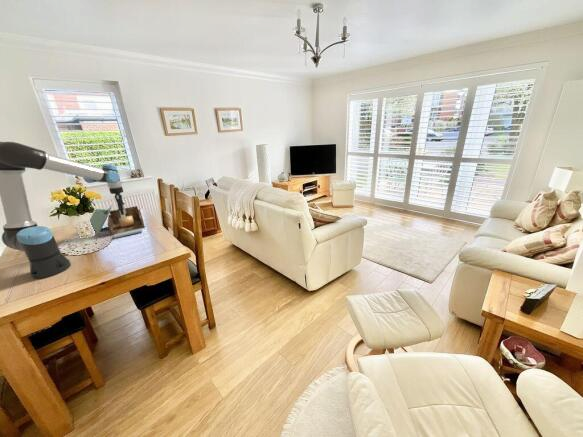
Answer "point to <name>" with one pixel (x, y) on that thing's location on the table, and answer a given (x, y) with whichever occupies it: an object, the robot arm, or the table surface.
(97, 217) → the planter
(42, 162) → the robot arm
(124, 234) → the panel
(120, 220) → the peach pillar candle
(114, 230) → the brown open rectangular box
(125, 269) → the table surface
